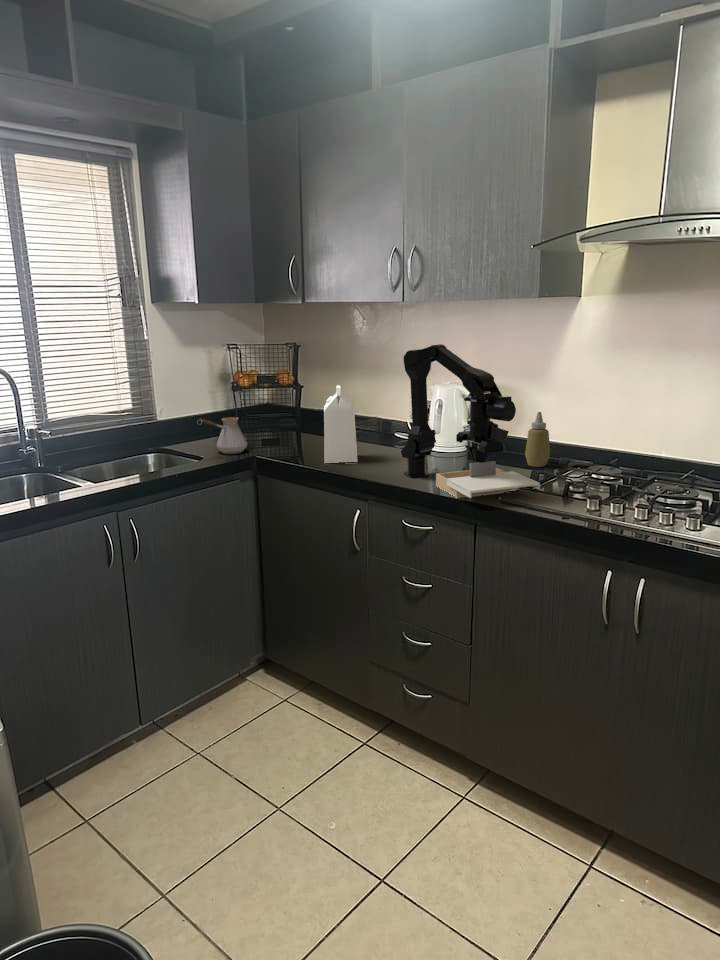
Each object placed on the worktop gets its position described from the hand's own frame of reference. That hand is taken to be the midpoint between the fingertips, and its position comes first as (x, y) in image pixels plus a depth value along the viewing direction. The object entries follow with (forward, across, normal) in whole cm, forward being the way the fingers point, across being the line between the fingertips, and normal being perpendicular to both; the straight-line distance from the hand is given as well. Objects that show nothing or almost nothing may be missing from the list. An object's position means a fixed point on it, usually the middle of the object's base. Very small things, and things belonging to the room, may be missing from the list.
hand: (478, 470), depth 202 cm
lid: (+3, -8, 0) cm, 9 cm away
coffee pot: (+6, +80, +64) cm, 103 cm away
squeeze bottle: (+6, +19, -32) cm, 38 cm away
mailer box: (+6, +1, 0) cm, 6 cm away
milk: (+6, +54, +26) cm, 60 cm away
